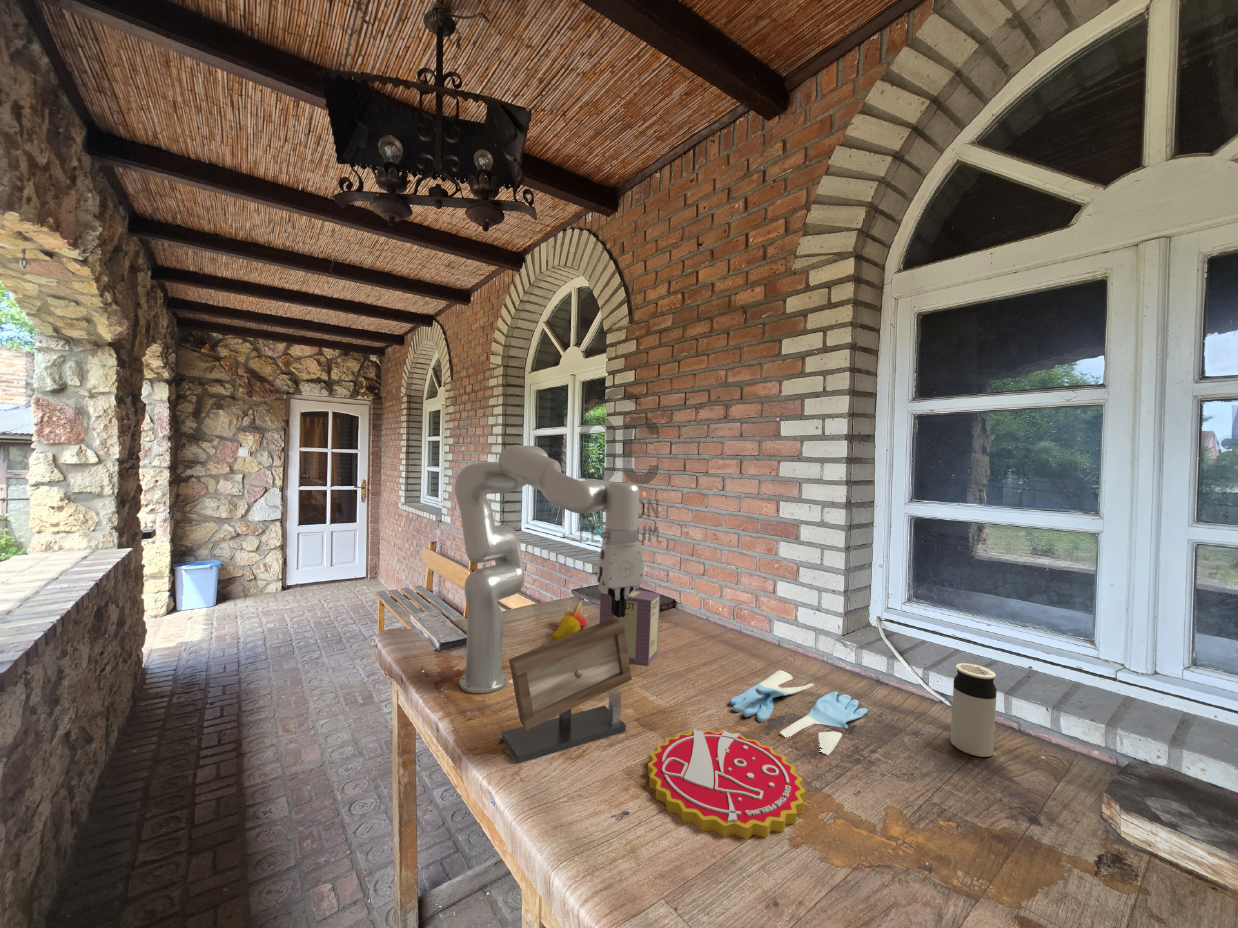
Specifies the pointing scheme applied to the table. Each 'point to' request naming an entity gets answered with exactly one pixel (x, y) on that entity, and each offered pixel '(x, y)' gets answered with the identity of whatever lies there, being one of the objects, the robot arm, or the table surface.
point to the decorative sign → (726, 783)
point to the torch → (571, 623)
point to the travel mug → (973, 710)
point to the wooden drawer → (570, 671)
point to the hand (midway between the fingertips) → (618, 615)
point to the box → (637, 624)
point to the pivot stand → (566, 731)
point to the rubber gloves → (823, 712)
